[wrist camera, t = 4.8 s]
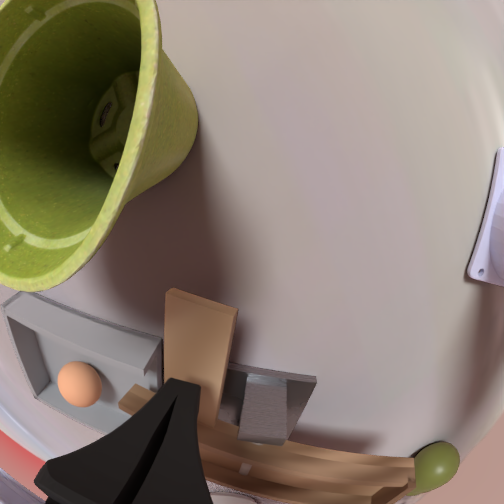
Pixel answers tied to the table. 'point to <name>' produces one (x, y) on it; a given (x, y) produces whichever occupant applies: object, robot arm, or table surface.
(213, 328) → the plank
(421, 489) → the pear
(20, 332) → the tray
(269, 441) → the fulcrum
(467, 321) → the table surface
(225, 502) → the can
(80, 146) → the plant pot
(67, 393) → the ball
